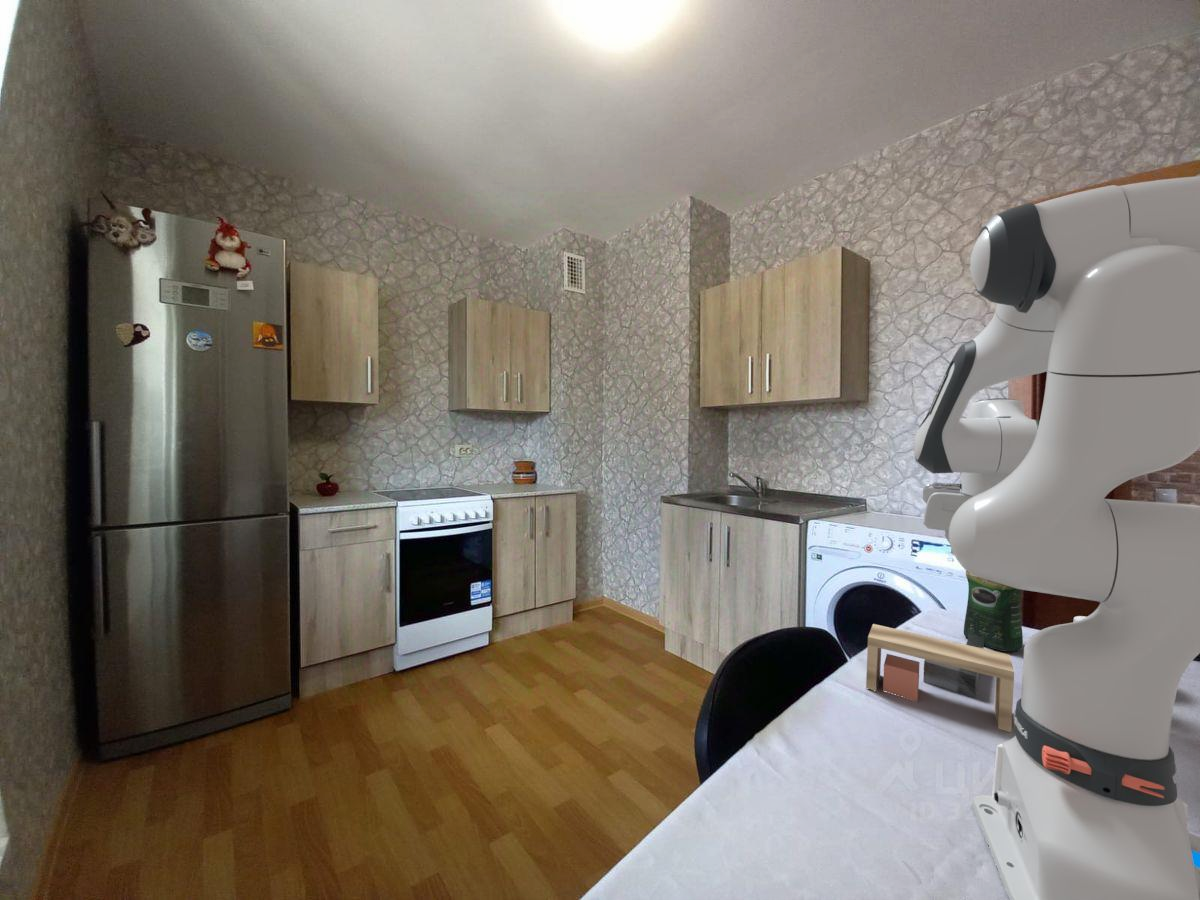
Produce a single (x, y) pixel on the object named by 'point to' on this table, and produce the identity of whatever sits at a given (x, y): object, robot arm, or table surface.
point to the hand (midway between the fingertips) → (986, 558)
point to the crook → (954, 673)
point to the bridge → (945, 662)
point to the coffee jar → (994, 614)
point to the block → (901, 676)
